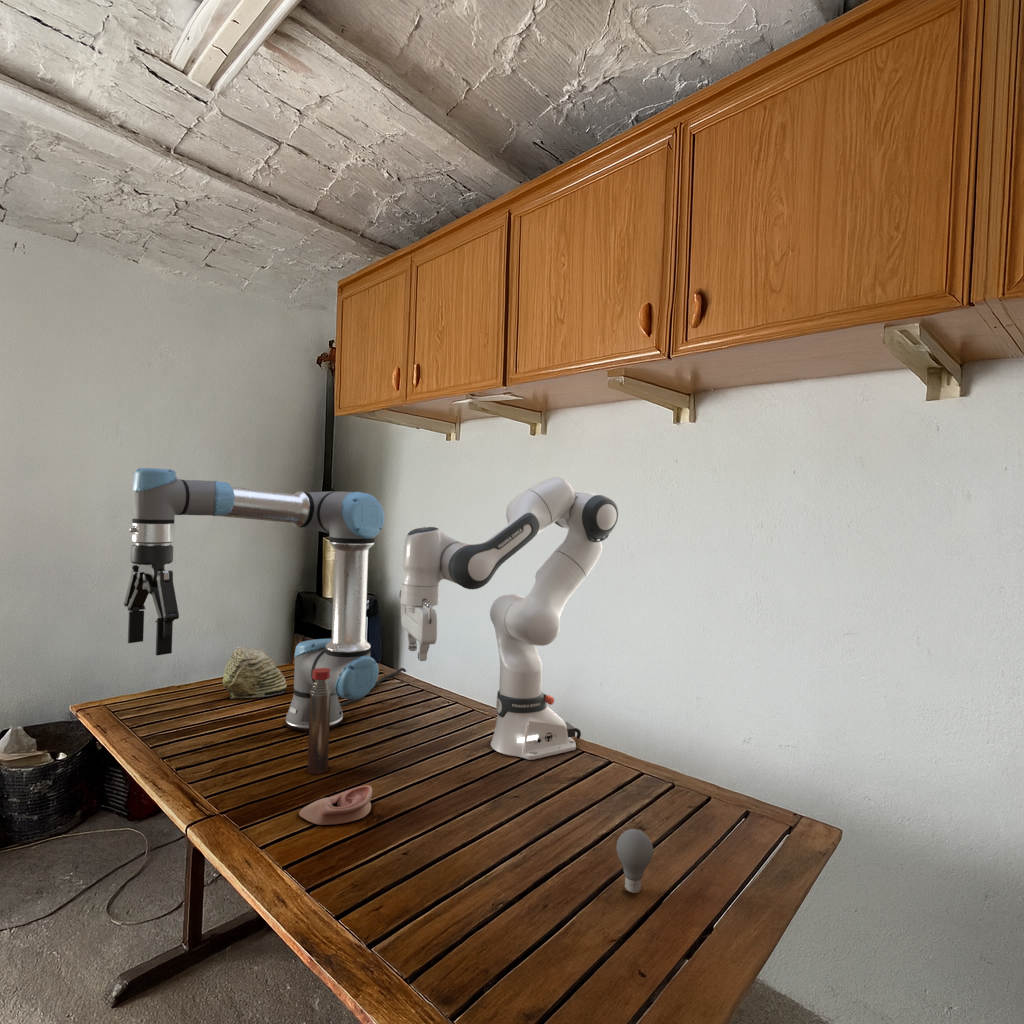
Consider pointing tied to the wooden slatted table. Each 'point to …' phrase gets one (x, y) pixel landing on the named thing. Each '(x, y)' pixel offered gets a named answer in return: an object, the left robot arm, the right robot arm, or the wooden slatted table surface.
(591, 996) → the wooden slatted table surface
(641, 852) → the light bulb
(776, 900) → the wooden slatted table surface
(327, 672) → the cap
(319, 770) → the bottle
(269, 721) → the wooden slatted table surface
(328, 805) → the anatomical model
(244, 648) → the fossil
